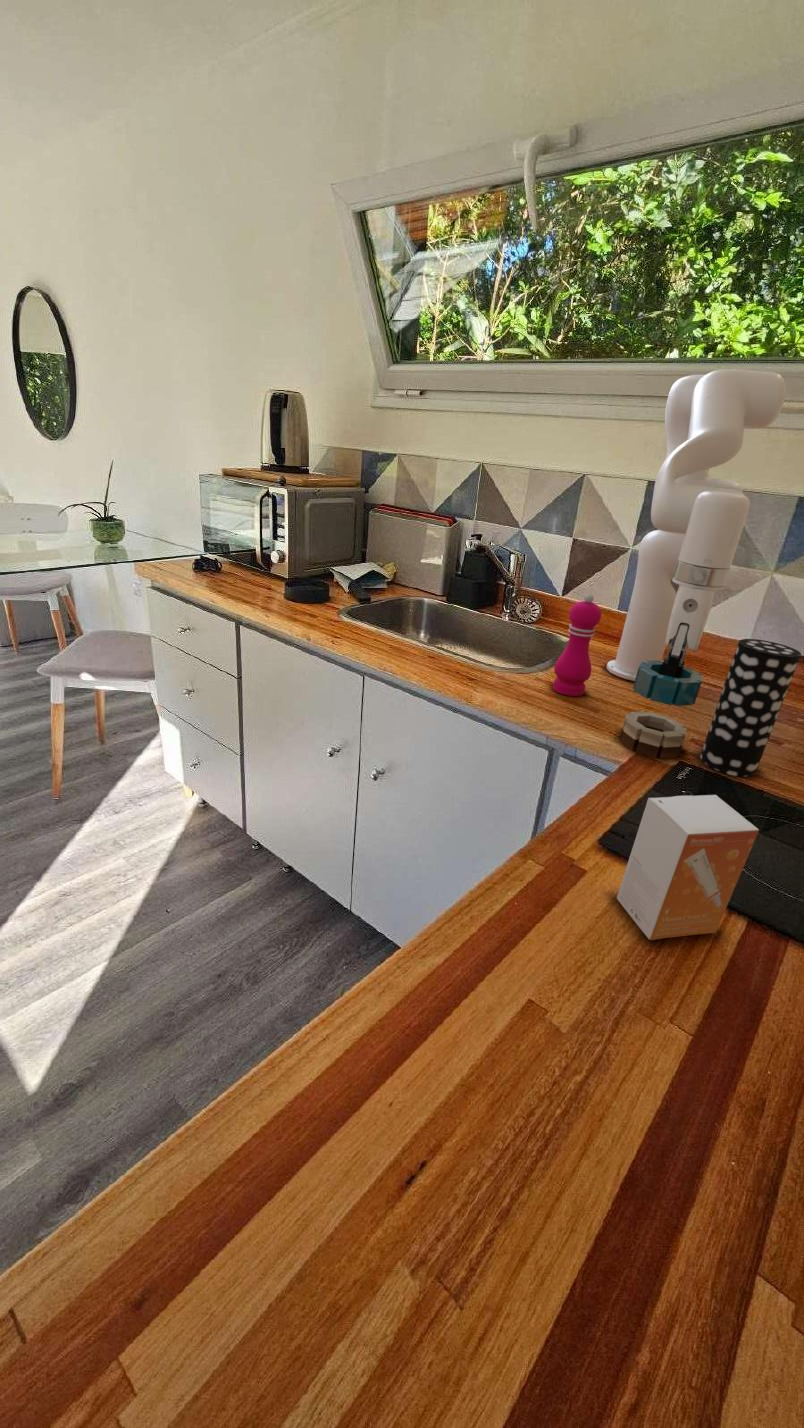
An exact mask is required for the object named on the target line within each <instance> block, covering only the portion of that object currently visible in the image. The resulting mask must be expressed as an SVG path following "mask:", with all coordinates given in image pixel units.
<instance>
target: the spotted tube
mask: <svg viewBox="0 0 804 1428" xmlns="http://www.w3.org/2000/svg"><path fill="white" fill-rule="evenodd" d="M801 657H802V653H801V651H799V650H797V648H794V647H791V646H788V645H785V644H782V643H779V642H778V643H777V642H774V641H769V640H765V639H764V640H763V639H756V638H741V639H740V640H739V641H738V643H737V645H736V648H735V652H734V655H733V658H732V661H731V663H730V665H729V670H728V673H727V676H726V679H725V681H724V684H723V687H722V691H721V693H720V696H719V699H718V702H717V704H716V708H715V711H714V713H713V717H712V719H711V723H710V725H709V729H708V730H707V731H708V732H707V734H706V738H705V740H704V744H703V747H702V749H701V753H700V761H702V762H703V763H704V764H705V765H706V766H707V767H710V768H711V769H713V770H715V771H718V772H721V773H723V774H726V775H730V776H735V777H743V778H744V777H752V776H754V775H756V773H757V770H758V768H759V765H760V762H761V759H762V757H763V755H764V752H765V749H766V748H767V744H768V742H769V739H770V736H771V734H772V731H773V729H774V727H775V724H776V721H777V719H778V717H779V713H780V711H781V708H782V705H783V704H784V700H785V697H786V696H787V692H788V691H789V687H790V685H791V682H792V679H793V677H794V675H795V672H796V669H797V668H798V667H797V666H798V664H799V661H800V659H801Z"/></svg>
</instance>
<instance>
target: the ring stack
mask: <svg viewBox="0 0 804 1428" xmlns="http://www.w3.org/2000/svg"><path fill="white" fill-rule="evenodd" d="M687 730H688V728H687V727H686V725H684V724H682V723H681V722H679V721H678V720H676V719H674V718H670V717H669V716H667V715H663V714H659V713H655V712H653V711H649V712H647V711H645V710H643V711H630V712H627V713H626V716H625V718H624V721H623V724H622V727H621V732H620V736H619V741H620V743H622V744H623V745H624V746H625V747H627V748H628V749H629V750H631V751H635V753H638V754H641V755H645V756H647V757H652V758H654V759H655V758H657V757H658V758H659V759H672V758H673V759H675V758H677V757H679V756H680V753H681V750H682V747H683V744H684V741H685V737H686V735H687V732H688V731H687Z"/></svg>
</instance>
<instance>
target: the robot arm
mask: <svg viewBox="0 0 804 1428" xmlns="http://www.w3.org/2000/svg"><path fill="white" fill-rule="evenodd" d="M786 393H787V388H786V382H785V379H784V378H783V376H782V375H781V374H779V373H777V372H774V371H764V370H763V371H761V370H750V369H749V370H748V369H735V368H721V369H716V370H712V371H710V372H709V373H706V374H692V375H685V376H683V377H680V378H678V379H677V380H675V382H674V383H673V384H672V385H671V388H670V390H669V393H668V396H667V399H666V405H665V411H664V412H665V413H664V428H665V431H664V432H665V438H666V456H665V457H666V458H665V460H664V461H663V463H662V464H661V466H660V468H659V470H658V472H657V474H656V475H657V476H656V478H655V482H654V486H653V493H652V501H651V508H650V520H651V523H652V525H653V527H654V528H655V529H656V530H655V529H654V530H652V531H650V532H648V533H646V535H644V537H643V538H642V539H641V542H640V545H639V548H638V555H637V565H636V572H635V574H636V575H635V579H634V585H633V589H632V593H631V597H630V601H629V602H630V603H629V606H628V609H627V614H626V617H625V622H624V625H623V630H622V632H621V633H622V634H621V638H620V641H619V645H618V649H617V653H616V657H615V659H612V660H609V661H608V662H607V664H606V670H607V671H608V672H609V673H610V674H611V675H614V676H615V677H618V678H621V679H623V680H627V681H632V682H635V678H636V675H637V671H638V668H639V665H640V664H641V662H644V661H658V660H660V661H661V662H663V663H662V667H661V670H660V675H665V676H669V677H673V678H677V679H678V678H680V676H681V673H682V670H683V666H684V667H685V664H686V661H685V658H686V654H687V651H688V650H691V652H692V653H695V652H697V651H698V648H699V646H700V642H701V640H702V636H703V633H704V630H705V627H706V624H707V621H708V617H709V615H710V611H711V608H712V604H713V602H714V596H715V593H716V591H717V592H718V591H723V590H724V589H725V585H726V581H727V579H728V576H729V574H730V570H731V566H732V563H733V560H734V558H735V555H736V551H737V548H738V545H739V542H740V538H741V536H742V532H743V529H744V526H745V522H746V520H747V517H748V514H749V511H750V506H751V501H750V499H749V498H748V496H746V495H745V494H744V493H743V489H742V486H741V485H740V484H739V483H738V482H735V481H733V480H728V479H722V478H721V479H720V478H712V477H710V476H709V472H710V469H712V468H716V467H719V466H721V465H724V464H726V463H727V462H729V461H731V460H732V459H733V458H735V457H736V456H737V455H738V453H739V452H740V450H741V449H742V447H743V444H744V432H745V431H744V430H746V429H747V430H751V429H752V430H754V429H764V428H767V427H769V426H771V425H772V424H773V423H774V422H775V421H776V420H777V419H778V417H779V416H780V414H781V412H782V409H783V407H784V404H785V401H786ZM671 581H672V582H673V583H674V584H676V585H678V588H677V592H676V589H675V588H674V586H673V585H672V582H671ZM666 648H668V649H667V652H666V655H665V657H664V654H665V650H666ZM663 657H664V659H663ZM664 661H665V662H664ZM682 665H683V666H682Z"/></svg>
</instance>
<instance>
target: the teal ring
mask: <svg viewBox="0 0 804 1428" xmlns="http://www.w3.org/2000/svg"><path fill="white" fill-rule="evenodd" d="M663 661H664V660H663ZM663 661H660V660H658V661H644V662H641V664H640V665H639V668H638V671H637V675H636V678H635V681H633V686H632V689H633V692H635V693H637V694H638V695H640V696H641V697H643V698H644V699H649V700H650V701H652V702H654V703H655V702H656V703H660V704H664V705H667V706H672V705H673V706H675V707H682V706H685V707H687V706H693V705H695V704H696V701H697V698H698V695H699V692H700V689H701V685H702V682H703V678H704V675H702V673H700V672H698V671H696V670H694V669H692V668H691V667H689V666H685V665H684V666H683V665H682V666H683V670H682V673H681V676H680V678H678V679H677V678H673V677H669V676H665V675H660V670H661V667H662V663H663ZM664 662H665V661H664Z"/></svg>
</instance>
